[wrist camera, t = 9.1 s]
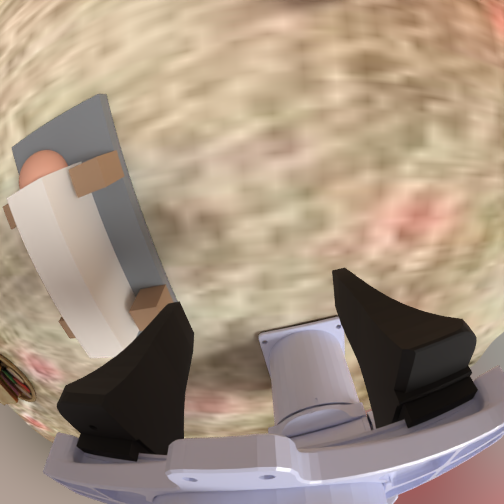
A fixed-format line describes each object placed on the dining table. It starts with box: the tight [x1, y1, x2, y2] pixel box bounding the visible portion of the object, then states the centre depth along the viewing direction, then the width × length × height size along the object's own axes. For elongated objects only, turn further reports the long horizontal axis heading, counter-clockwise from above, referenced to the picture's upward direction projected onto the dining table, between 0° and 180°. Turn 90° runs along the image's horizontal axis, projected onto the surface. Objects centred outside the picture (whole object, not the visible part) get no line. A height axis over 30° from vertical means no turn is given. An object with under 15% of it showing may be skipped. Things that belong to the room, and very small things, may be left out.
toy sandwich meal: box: [0, 355, 36, 405], centre depth 30 cm, size 12×14×5 cm
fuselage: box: [7, 150, 139, 358], centre depth 18 cm, size 16×4×5 cm, turn 13°
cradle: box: [3, 94, 178, 338], centre depth 20 cm, size 22×10×4 cm, turn 13°
